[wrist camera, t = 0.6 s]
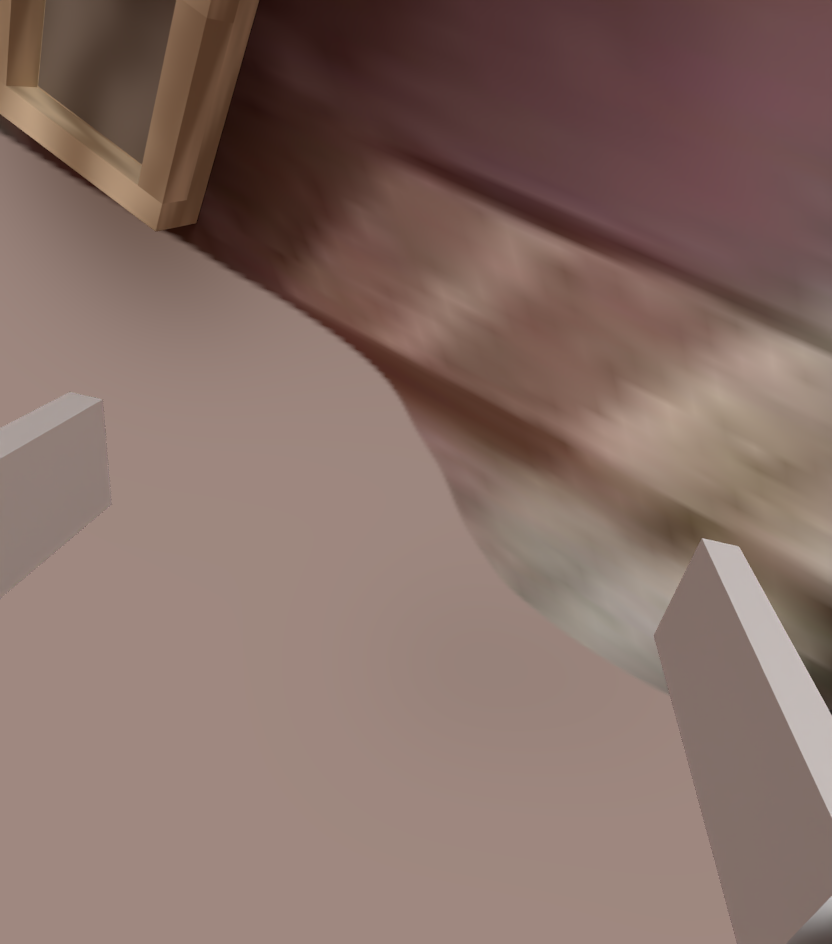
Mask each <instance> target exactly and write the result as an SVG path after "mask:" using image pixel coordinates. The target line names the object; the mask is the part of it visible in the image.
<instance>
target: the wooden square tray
mask: <svg viewBox="0 0 832 944" xmlns="http://www.w3.org/2000/svg"><path fill="white" fill-rule="evenodd" d="M258 3H259V0H0V114H1V115H3V116H4V117H5V118H7V119H8V120H9V121H11V122H12V123H13V124H15V125H16V126H17V127H18V128H20V129H21V130H22V131H24V132H25V133H26V134H28V135H29V136H30V137H32V138H33V139H34V140H36V141H37V142H38V143H40V144H41V145H42V146H43V147H45V148H46V149H47V150H49V151H50V152H51V153H53V154H54V155H55V156H57V157H58V158H59V159H61V160H62V161H63V162H65V163H66V164H67V165H69V166H70V167H71V168H72V169H74V170H75V171H76V172H78V173H79V174H80V175H82V176H83V177H84V178H86V179H87V180H88V181H90V182H91V183H92V184H94V185H95V186H96V187H97V188H99V189H100V190H101V191H103V192H104V193H105V194H107V195H108V196H109V197H111V198H112V199H113V200H115V201H116V202H117V203H119V204H120V205H121V206H123V207H124V208H125V209H126V210H128V211H129V212H130V213H132V214H133V215H134V216H136V217H137V218H138V219H140V220H141V221H142V222H144V223H145V224H146V225H148V226H149V227H150V228H152V229H153V230H154V231H161V230H166V229H171V228H176V227H180V226H185V225H190V224H195V223H196V222H197V219H198V215H199V212H200V208H201V205H202V201H203V198H204V194H205V191H206V187H207V184H208V180H209V176H210V173H211V169H212V166H213V162H214V159H215V155H216V152H217V148H218V145H219V141H220V138H221V134H222V130H223V127H224V123H225V120H226V116H227V113H228V109H229V106H230V102H231V99H232V95H233V91H234V88H235V84H236V81H237V77H238V74H239V70H240V67H241V63H242V60H243V56H244V53H245V49H246V45H247V42H248V38H249V35H250V31H251V28H252V24H253V21H254V17H255V14H256V10H257V7H258Z"/></svg>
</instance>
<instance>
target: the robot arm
mask: <svg viewBox="0 0 832 944" xmlns="http://www.w3.org/2000/svg"><path fill="white" fill-rule="evenodd" d="M111 504H112V503H111V491H110V479H109V468H108V455H107V443H106V431H105V420H104V409H103V400H102V399H99V398H94V397H90V396H86V395H81V394H77V393H73V392H69V393H67V394H65V395H63V396H61V397H59V398H57V399H55V400H53V401H52V402H49V403H47V404H45V405H44V406H42V407H40V408H38V409H36V410H34V411H32V412H30V413H28V414H26V415H25V416H22V417H21V418H19V419H17V420H15V421H13V422H11V423H9V424H7V425H5V426H3V427H1V428H0V598H2V597H3V596H4V595H5V594H6V593H7V592H9V591H10V590H11V589H12V588H13V587H15V586H16V585H17V584H18V583H19V582H21V581H22V580H23V579H24V578H25V577H26V576H28V575H29V574H30V573H31V572H32V571H33V570H35V569H36V568H37V567H38V566H40V565H41V564H42V563H43V562H44V561H45V560H46V559H48V558H49V557H50V556H51V555H52V554H54V553H55V552H56V551H57V550H58V549H60V548H61V547H62V546H63V545H64V544H65V543H67V542H68V541H69V540H70V539H71V538H73V537H74V536H75V535H76V534H77V533H79V532H80V531H81V530H82V529H83V528H84V527H86V526H87V525H88V524H89V523H90V522H92V521H93V520H94V519H95V518H96V517H97V516H99V515H100V514H101V513H102V512H103V511H105V510H106V509H107V508H108V507H109V506H110V505H111ZM654 638H655V642H656V645H657V649H658V653H659V657H660V660H661V664H662V668H663V671H664V675H665V679H666V682H667V686H668V690H669V694H670V697H671V701H672V705H673V708H674V712H675V716H676V719H677V723H678V727H679V731H680V734H681V738H682V742H683V745H684V749H685V753H686V757H687V760H688V764H689V768H690V771H691V775H692V779H693V783H694V786H695V790H696V794H697V797H698V801H699V805H700V808H701V812H702V816H703V820H704V823H705V827H706V830H707V834H708V838H709V842H710V845H711V849H712V853H713V857H714V860H715V864H716V867H717V871H718V875H719V879H720V883H721V886H722V890H723V894H724V897H725V901H726V905H727V909H728V912H729V916H730V920H731V923H732V927H733V931H734V934H735V938H736V942H737V944H832V710H829V709H828V708H827V706H826V704H825V702H824V700H823V699H822V697H821V695H820V693H819V691H818V690H817V688H816V686H815V684H814V682H813V680H812V679H811V677H810V675H809V673H808V671H807V670H806V668H805V666H804V664H803V662H802V660H801V659H800V657H799V655H798V653H797V651H796V650H795V648H794V646H793V644H792V642H791V640H790V639H789V637H788V635H787V633H786V631H785V629H784V628H783V626H782V624H781V622H780V620H779V619H778V617H777V615H776V613H775V611H774V609H773V608H772V606H771V604H770V602H769V600H768V599H767V597H766V595H765V593H764V591H763V589H762V588H761V586H760V584H759V582H758V580H757V578H756V577H755V575H754V573H753V571H752V569H751V568H750V566H749V564H748V562H747V560H746V558H745V557H744V555H743V553H742V551H741V549H740V548H739V547H738V546H734V545H730V544H725V543H721V542H717V541H712V540H708V539H704V538H702V539H701V541H700V543H699V545H698V547H697V549H696V551H695V553H694V555H693V557H692V559H691V561H690V563H689V565H688V567H687V569H686V571H685V573H684V575H683V577H682V579H681V581H680V583H679V585H678V587H677V589H676V592H675V594H674V596H673V598H672V600H671V602H670V604H669V606H668V608H667V610H666V612H665V614H664V616H663V618H662V620H661V622H660V624H659V626H658V628H657V630H656V632H655V634H654Z"/></svg>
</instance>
